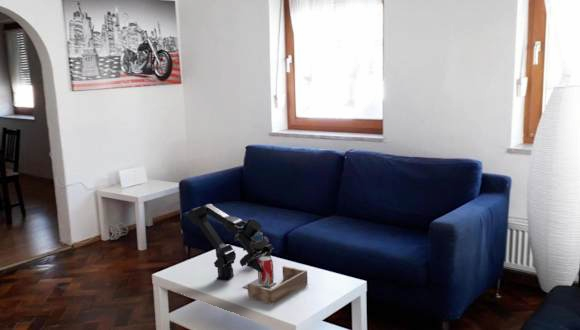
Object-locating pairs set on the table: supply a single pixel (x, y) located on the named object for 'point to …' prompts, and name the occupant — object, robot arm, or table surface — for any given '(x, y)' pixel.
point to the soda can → (266, 270)
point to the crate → (279, 286)
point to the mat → (259, 284)
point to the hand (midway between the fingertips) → (267, 270)
